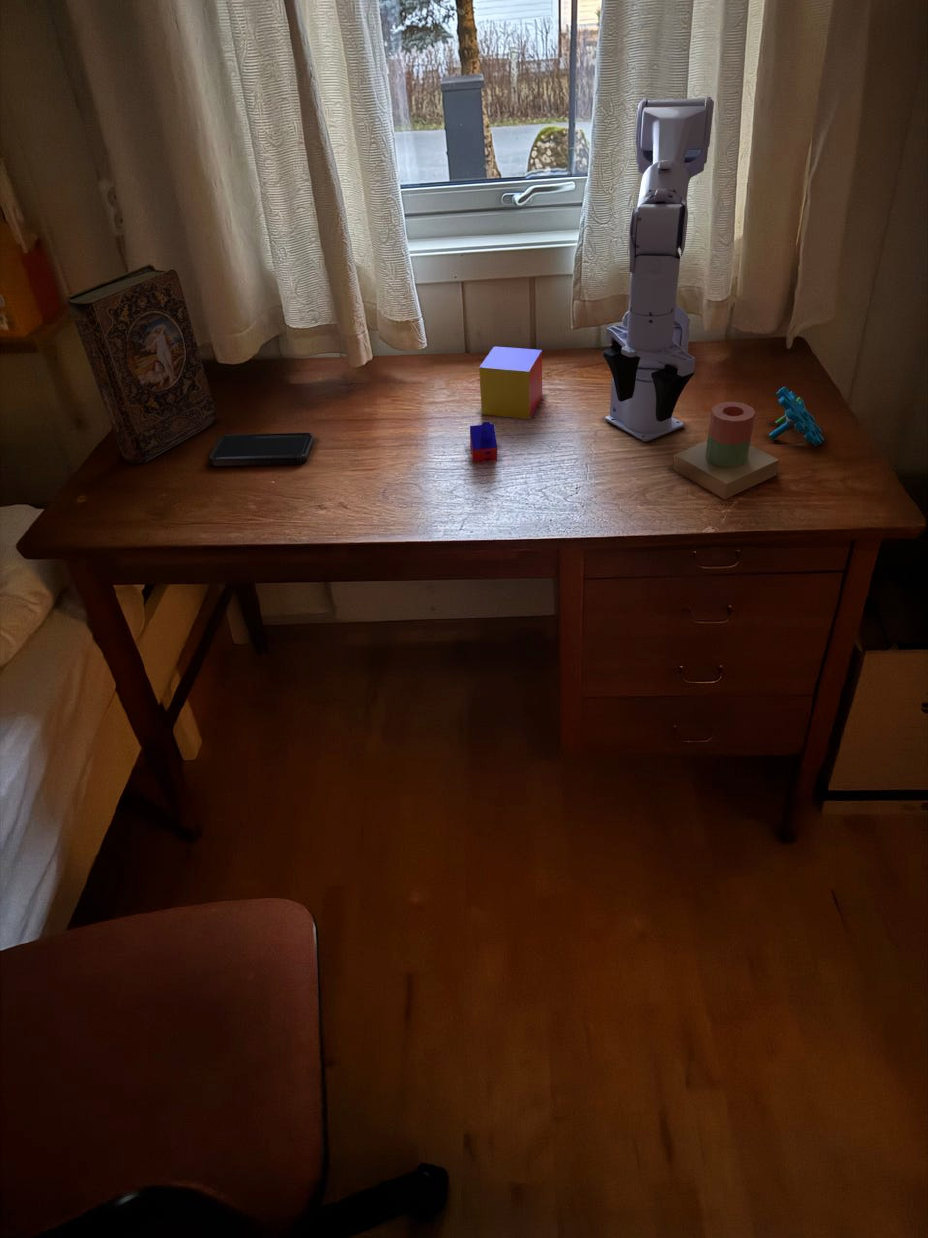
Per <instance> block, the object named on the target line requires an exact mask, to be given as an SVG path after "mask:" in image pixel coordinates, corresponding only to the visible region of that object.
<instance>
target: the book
mask: <svg viewBox="0 0 928 1238" xmlns="http://www.w3.org/2000/svg"><path fill="white" fill-rule="evenodd" d="M179 277H180V276H179V275H178V272H177V271H176V270H175V269H172V268H169V269H168V270H167V269H166V270H159V269H156V268H155V266H154V265H153V264H148V263H147V264H145V265H143V266H140V267H138V268H135V269H133V270H130V271H128V272H126V273H123V274H121V275H117V276H115V277H112V278H110V279H108V280H105V281H102V282H100V283H97V284H95V285H92V286H90V287H87V288H85V289H83V290H80V291H77V292H75V293H72V294H69V295H67V296H66V297H65V300H66V304H67V305H68V308H69V311H70V313H71V317H72V319H73V322H74V325H75V328H76V330H77V333H78V336H79V339H80V342H81V345H82V348H83V350H84V352H85V353H84V354H85V356H86V358H87V361H88V364H89V366H90V369H91V372H92V374H93V378H94V380H95V383H96V386H97V389H98V391H99V394H100V397H101V399H102V402H103V405H104V408H105V411H106V414H107V416H108V417H107V418H108V419H109V423H110V425H111V428H112V431H113V433H114V436H115V439H116V442H117V444H118V447H119V451H120V453H121V455H122V458H123V459H124V461H126V462H129V463H131V464H145V463H147V462H148V461H151V460H152V459H154V458H157V456H159V455H161V454H162V453H164V452H166V451H168V450H170V449H171V448H173V447H175V446H177V445H178V444H180V443H182V442H184V441H185V440H187V439H189V438H191V437H193V436H194V435H196V434H199V433H200V432H202V431H203V430H204V429H206V428H208V427H209V426H211V425H213V424H214V423H215V422H216V420H217V413H216V412H217V411H216V408H215V404H214V401H213V397H212V393H211V390H210V386H209V382H208V378H207V375H206V372H205V368H204V364H203V360H202V356H201V353H200V349H199V346H198V343H197V339H196V335H195V331H194V328H193V325H192V320H191V317H190V315H189V314H190V313H189V309H188V306H187V302H186V299H185V295H184V292H183V288H182V285H181V281H180V278H179Z"/></svg>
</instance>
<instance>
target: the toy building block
mask: <svg viewBox="0 0 928 1238" xmlns="http://www.w3.org/2000/svg"><path fill="white" fill-rule="evenodd" d="M497 442H498V441H497V435H496V427H495V423H491V422H489V421H483V422H481V424H477V425H470V426H469V445H470V451H471V457H472V464H480V463H488V462H498V443H497Z"/></svg>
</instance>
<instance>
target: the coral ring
mask: <svg viewBox="0 0 928 1238" xmlns="http://www.w3.org/2000/svg"><path fill="white" fill-rule="evenodd" d="M755 417H756V411H755V409H754V408H753V406H750V405H748V404H746V403H743V402H738V401H725V402H720V403H718V404H715V405H714V406H713V407H712V409H711V412H710V420H709V425H708V426H709V428H708V434H709V435H710V437H711V439H713V440H715V441H717V442H719V443H724V444H729V445H733V444H742V443H744V442H747V441H749V439H750V438H751V439H752V435H753V431H754V423H755Z"/></svg>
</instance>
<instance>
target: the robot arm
mask: <svg viewBox="0 0 928 1238" xmlns="http://www.w3.org/2000/svg"><path fill="white" fill-rule="evenodd" d="M714 106H715V101H714V100H713V99H712V96H706V98H705V97H703V98H702V97H701V98H700V97H699V98H697V97H696V98H664V99H663V98H662V99H661V98H659V99H655V98H654V99H648V97H647V98H645V97H643V98H642V99H641V101H640V102H639V103H638V106H637V113H636V122H635V139H634V141H635V148H636V149H635V151H636V152H635V153H636V155H635V158H636V159H635V160H636V161H635V162H636V165H637V171H638V172H639V173H640V174H642V177H641V182H640V188H639V194H638V200H637V206H636V209H635V208H632V210H631V213H630V219H629V225H628V226H629V227H628V253H629V267H628V269H629V273H631V274H630V280H629V281H630V282H629V296H628V297H629V298H628V310H627V311H626V312H625V313H624V316H623V317H622V320H621V325H620V324H615V325H612V326H609V327H606V330H605V331H606V333H605V342H606V343H607V344H610V347H609V348H606V349H604V350H603V356H602V357H603V358H604V360H605V361H606V363H607V366H608V368H609V370H610V373H611V376H612V378H611V382H610V397H609V398H610V399H609V401H610V402H609V403H610V404H609V414H608V415H606V416H605V418H604V420H605V421H606V422H608V423H610V424H612V425H614V426H615V427H617V428H618V429H620V430H622V431H624V432H626V433H628V434H630V435H631V436H633V437H635V438H637V439H638V440H640V441H642V442H645V443H647V442H649V441H652V440H655V439H657V438H659V437H662V436H664V435H666V434H669V433H672V432H674V431H676V430H679V429H681V428H683V427H684V425H685V424H684V422H683V421H680V420H679V419H677V418H674V416H673V414H674V411H675V408H676V406H677V402H678V401H679V398H680V397H681V395H682V392H683V391H684V389H685V387H686V385H687V384H688V382H689V381H690V380H691V379H692V377H693V376H694V375H695V371H696V369H695V367H696V359H697V358H696V357H695V356H693V355H691V354H689V352H688V351H689V350H688V349H689V341H690V332H691V331H690V323H691V319H690V317H689V314H688V313H687V312H686V311H685V310H684V309H683V308H681V306H679V304H677V296H678V295H677V294H678V288H679V287H678V285H679V276H680V265H681V257H683V253H684V252H685V248H686V241H687V231H688V221H689V208H688V192H689V183H690V181H691V179H692V178H694V177H696V176H697V175H699V174H701V173H703V172H704V171H705V165H706V164H707V163H708V155H709V147H710V145H711V135H712V125H713V116H714V108H715V107H714ZM679 250H680V252H679Z"/></svg>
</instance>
